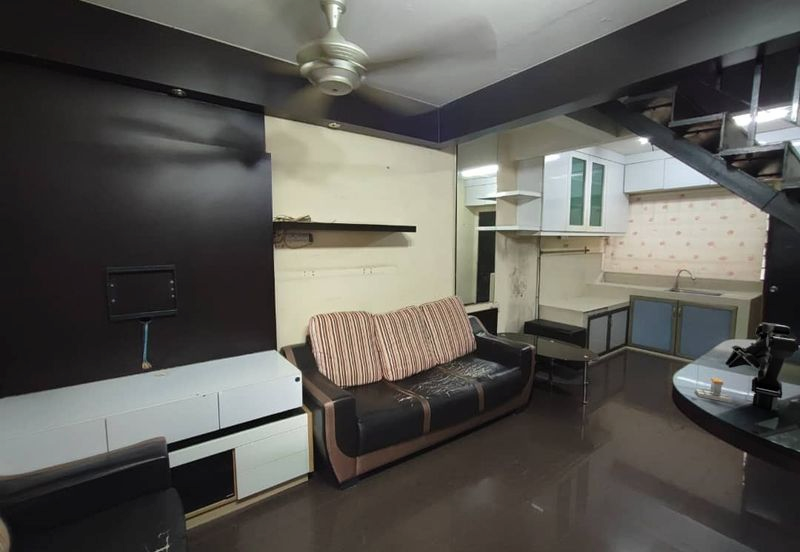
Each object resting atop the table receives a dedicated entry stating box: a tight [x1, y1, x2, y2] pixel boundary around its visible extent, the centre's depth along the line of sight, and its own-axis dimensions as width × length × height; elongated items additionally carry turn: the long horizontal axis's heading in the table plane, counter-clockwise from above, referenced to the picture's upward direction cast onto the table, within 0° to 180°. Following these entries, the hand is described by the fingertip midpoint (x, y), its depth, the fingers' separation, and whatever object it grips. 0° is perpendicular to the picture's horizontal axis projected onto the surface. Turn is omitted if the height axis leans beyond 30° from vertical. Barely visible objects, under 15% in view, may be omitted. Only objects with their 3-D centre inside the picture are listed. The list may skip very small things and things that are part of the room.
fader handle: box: [710, 377, 724, 396], centre depth 163 cm, size 3×5×7 cm, turn 151°
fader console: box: [695, 388, 733, 403], centre depth 163 cm, size 12×6×2 cm, turn 61°
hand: (727, 365), depth 168 cm, fingers open, 4 cm apart
